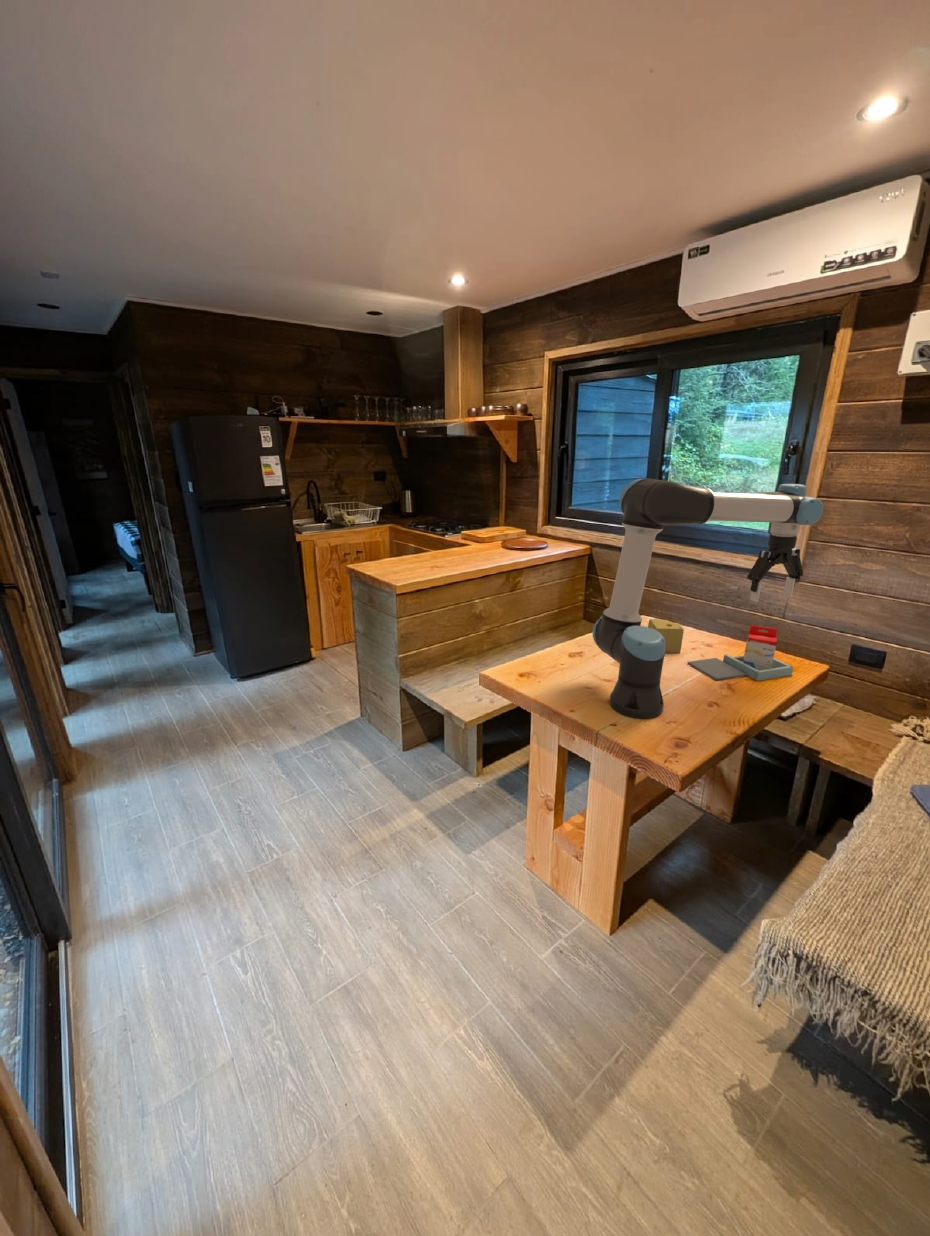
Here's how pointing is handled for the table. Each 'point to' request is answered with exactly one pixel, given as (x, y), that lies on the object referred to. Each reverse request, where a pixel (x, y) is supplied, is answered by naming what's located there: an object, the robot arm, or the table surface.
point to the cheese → (669, 634)
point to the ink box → (760, 647)
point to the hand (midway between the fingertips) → (770, 599)
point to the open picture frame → (777, 670)
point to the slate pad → (716, 669)
